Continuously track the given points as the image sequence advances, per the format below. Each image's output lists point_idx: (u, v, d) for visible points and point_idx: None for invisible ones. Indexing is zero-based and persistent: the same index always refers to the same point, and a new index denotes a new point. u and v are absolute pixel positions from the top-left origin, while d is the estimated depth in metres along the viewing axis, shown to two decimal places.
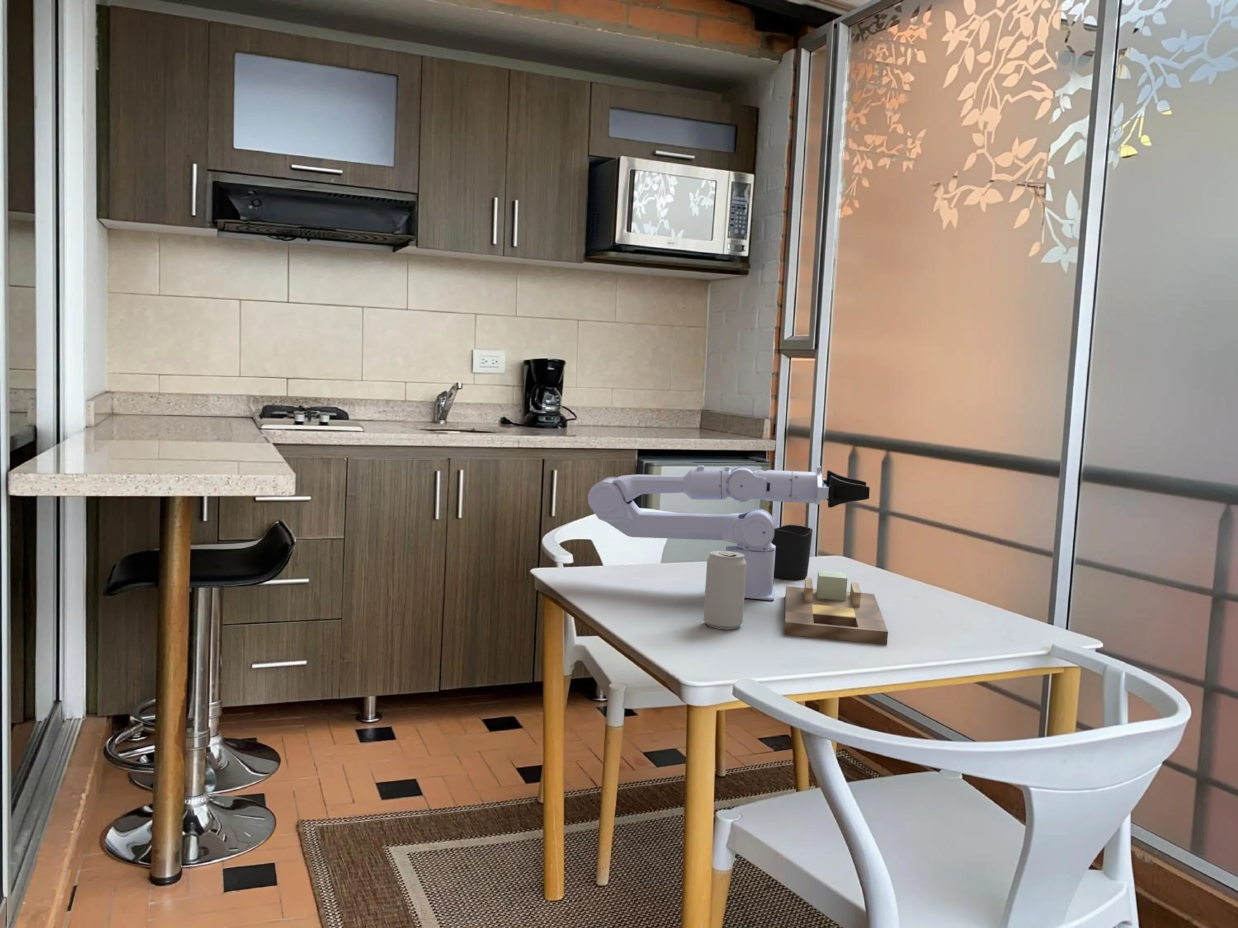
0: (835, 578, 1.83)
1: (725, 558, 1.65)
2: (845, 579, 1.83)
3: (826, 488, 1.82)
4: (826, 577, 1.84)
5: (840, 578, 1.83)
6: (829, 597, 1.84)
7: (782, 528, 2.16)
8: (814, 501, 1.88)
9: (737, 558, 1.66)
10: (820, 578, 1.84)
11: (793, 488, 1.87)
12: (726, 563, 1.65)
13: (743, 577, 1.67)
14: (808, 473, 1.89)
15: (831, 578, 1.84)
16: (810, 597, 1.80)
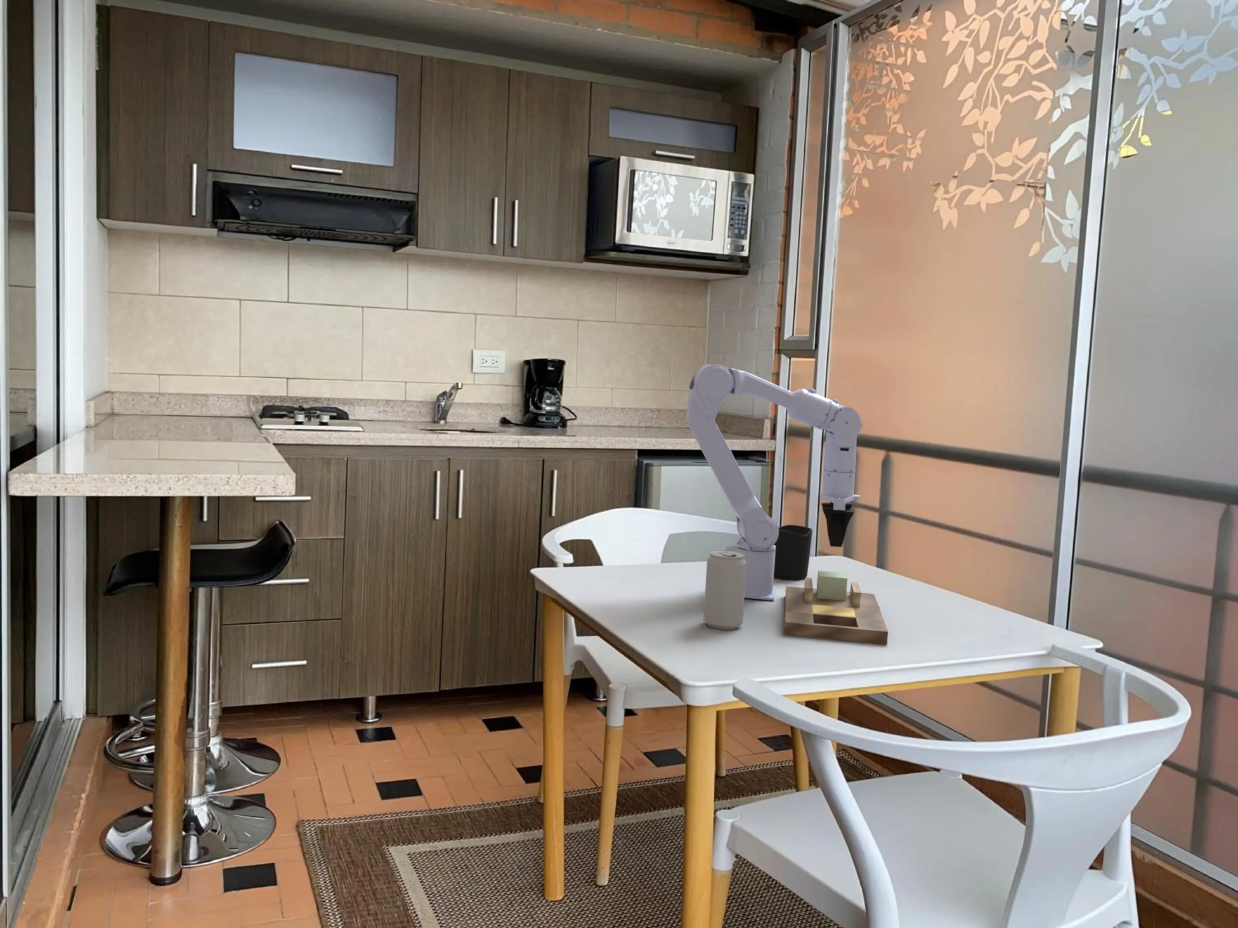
0: (835, 578, 1.83)
1: (725, 558, 1.65)
2: (845, 579, 1.83)
3: (844, 508, 1.85)
4: (826, 577, 1.84)
5: (840, 578, 1.83)
6: (829, 597, 1.84)
7: (782, 528, 2.16)
8: (826, 493, 1.91)
9: (737, 558, 1.66)
10: (820, 578, 1.84)
11: (840, 474, 1.89)
12: (726, 563, 1.65)
13: (743, 577, 1.67)
14: (853, 487, 1.90)
15: (831, 578, 1.84)
16: (810, 597, 1.80)
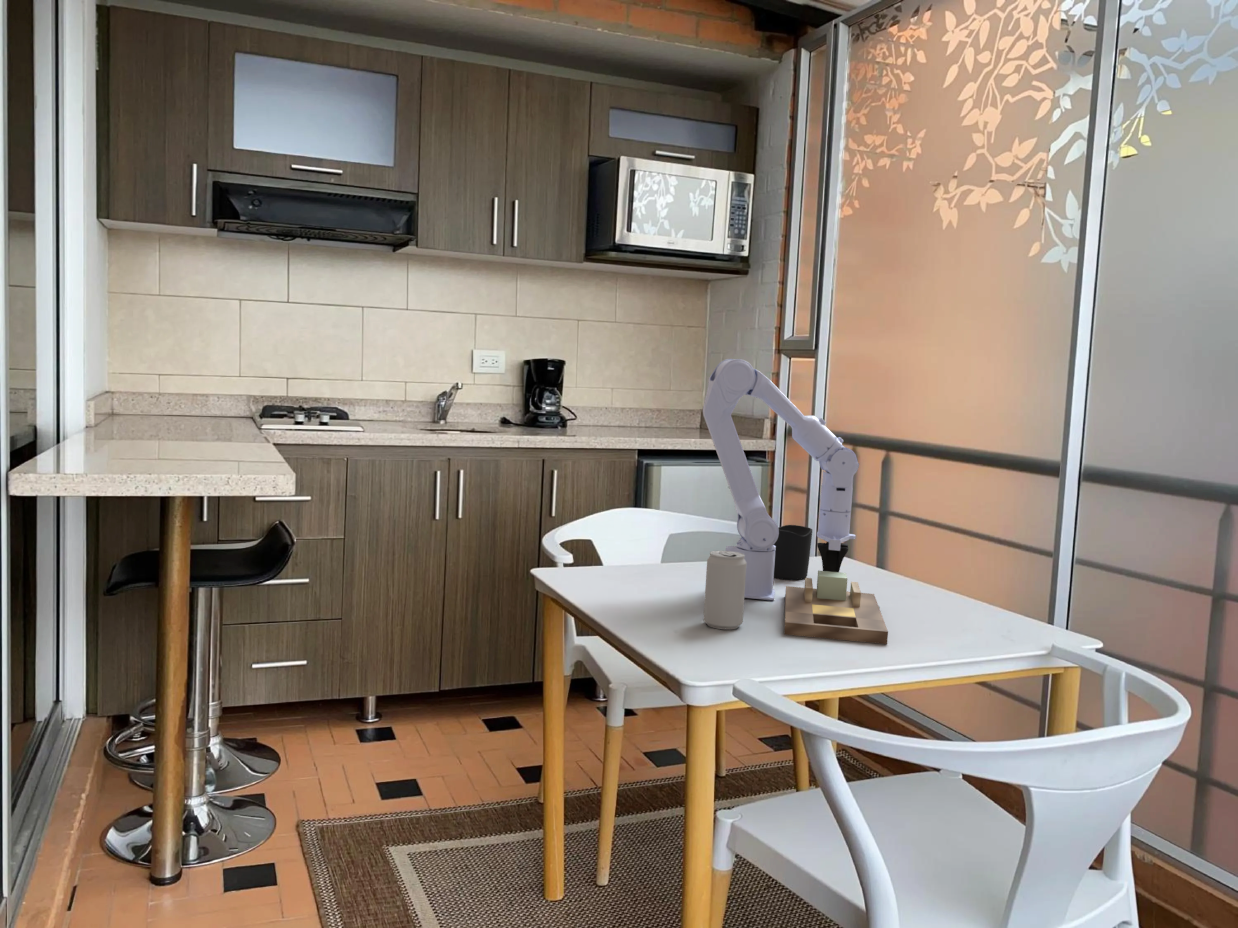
0: (835, 578, 1.83)
1: (725, 558, 1.65)
2: (845, 579, 1.83)
3: (839, 548, 1.86)
4: (826, 577, 1.84)
5: (840, 578, 1.83)
6: (829, 597, 1.84)
7: (782, 528, 2.16)
8: (821, 532, 1.91)
9: (737, 558, 1.66)
10: (820, 578, 1.84)
11: (835, 513, 1.89)
12: (726, 563, 1.65)
13: (743, 577, 1.67)
14: (849, 527, 1.91)
15: (831, 578, 1.84)
16: (810, 597, 1.80)
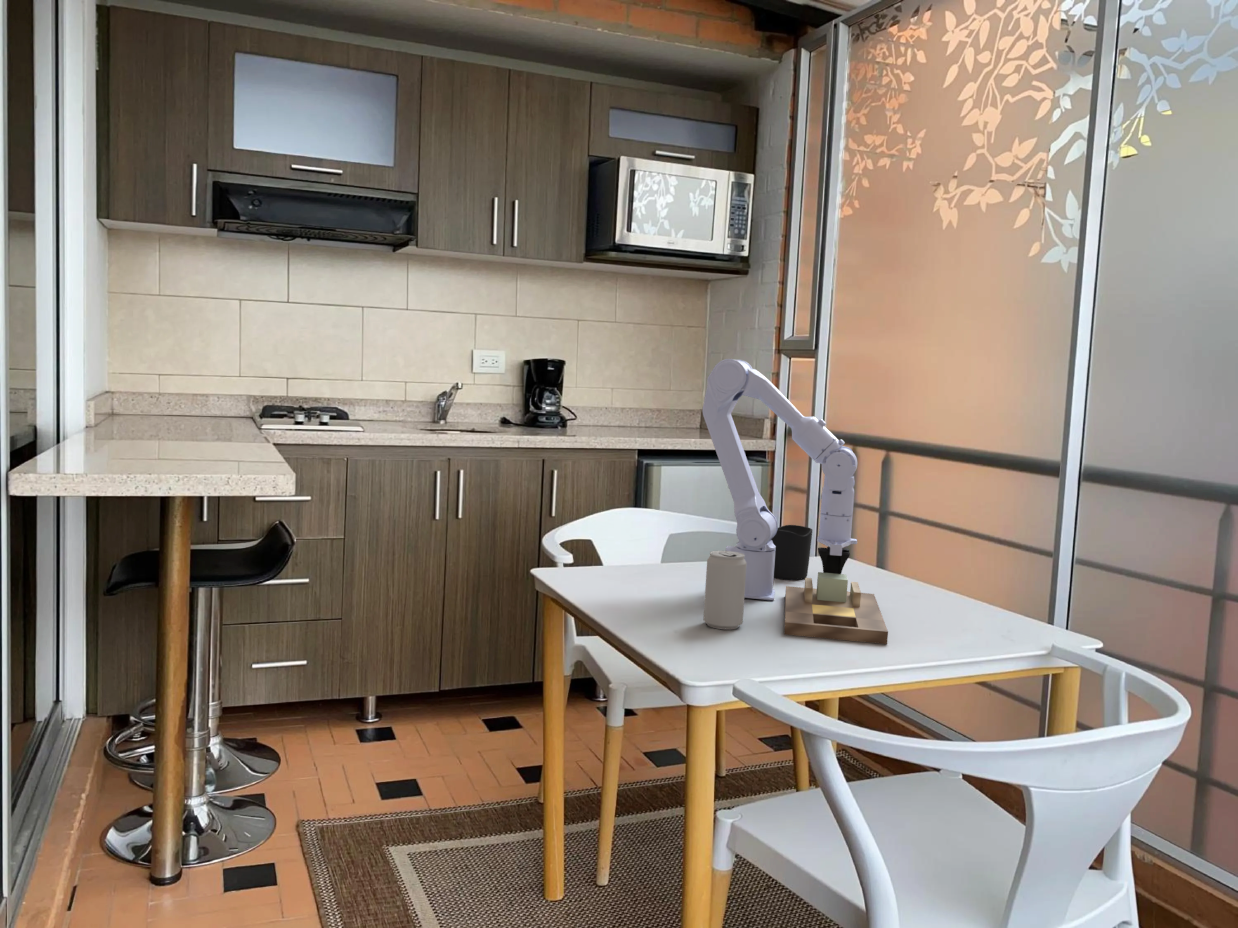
0: (835, 580, 1.82)
1: (725, 558, 1.65)
2: (845, 581, 1.82)
3: (840, 553, 1.81)
4: (826, 579, 1.82)
5: (840, 580, 1.82)
6: (829, 599, 1.82)
7: (782, 528, 2.16)
8: (822, 537, 1.86)
9: (737, 558, 1.66)
10: (820, 580, 1.82)
11: (837, 517, 1.85)
12: (726, 563, 1.65)
13: (743, 577, 1.67)
14: (850, 531, 1.86)
15: (831, 580, 1.82)
16: (810, 597, 1.80)
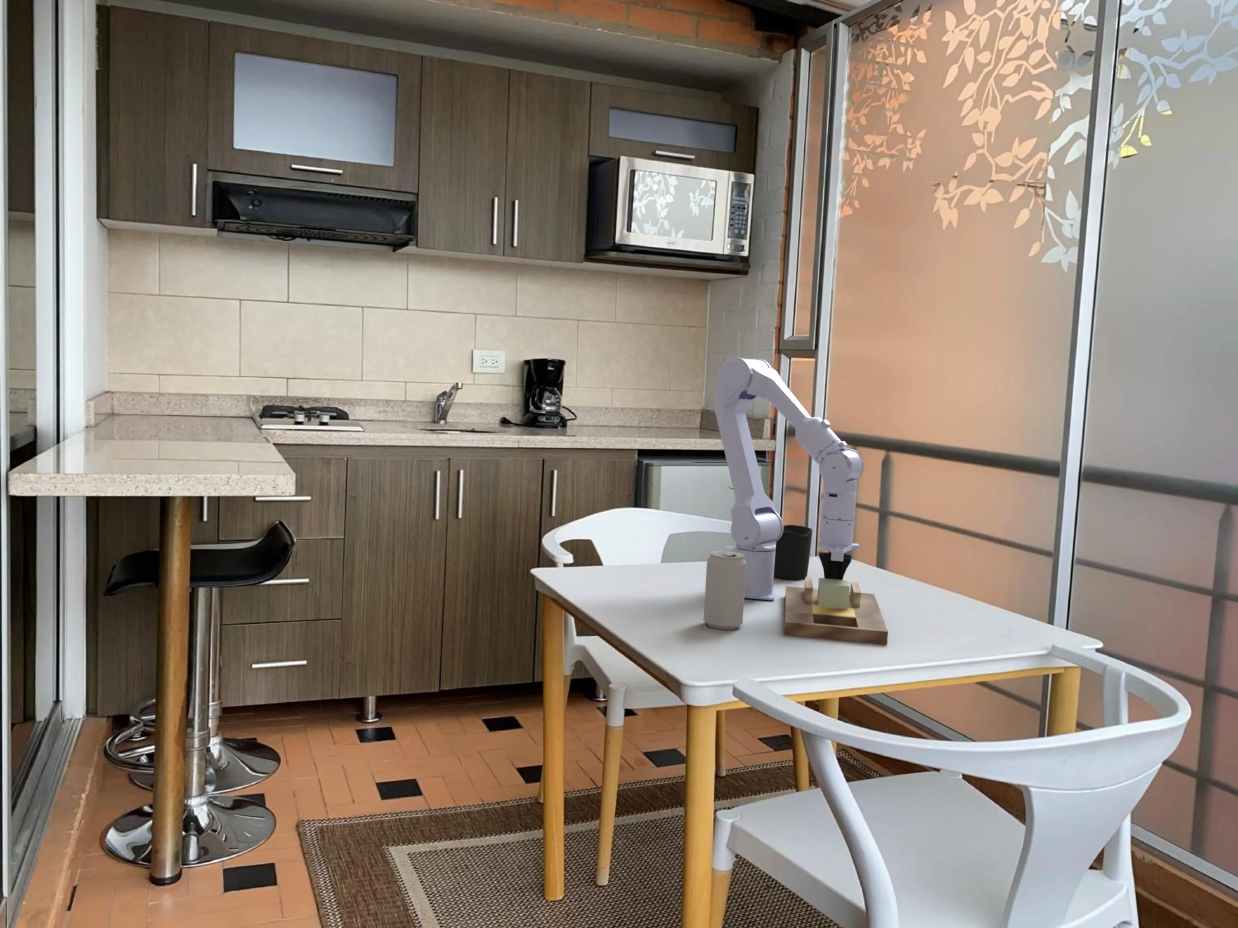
0: (837, 586, 1.77)
1: (725, 558, 1.65)
2: (847, 587, 1.77)
3: (842, 559, 1.76)
4: (827, 585, 1.77)
5: (842, 586, 1.77)
6: (831, 606, 1.77)
7: None
8: (823, 542, 1.81)
9: (737, 558, 1.66)
10: (821, 586, 1.77)
11: (838, 522, 1.79)
12: (726, 563, 1.65)
13: (743, 577, 1.67)
14: (852, 536, 1.81)
15: (833, 586, 1.77)
16: (810, 597, 1.80)
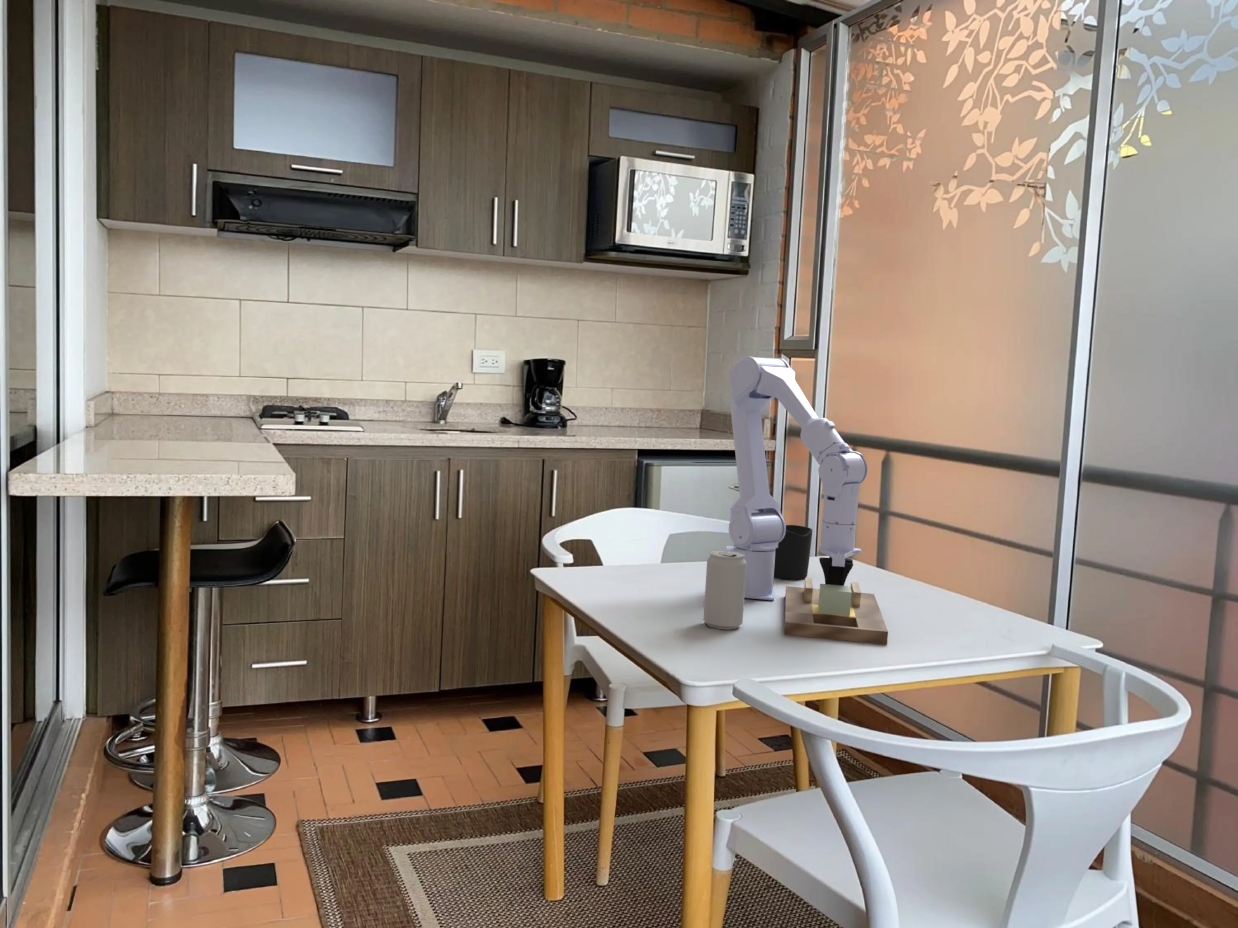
0: (838, 592, 1.72)
1: (725, 558, 1.65)
2: (849, 593, 1.72)
3: (843, 564, 1.71)
4: (829, 591, 1.72)
5: (844, 592, 1.72)
6: (832, 612, 1.72)
7: None
8: (824, 546, 1.76)
9: (737, 558, 1.66)
10: (822, 592, 1.72)
11: (839, 526, 1.75)
12: (726, 563, 1.65)
13: (743, 577, 1.67)
14: (854, 541, 1.76)
15: (834, 592, 1.72)
16: (810, 597, 1.80)
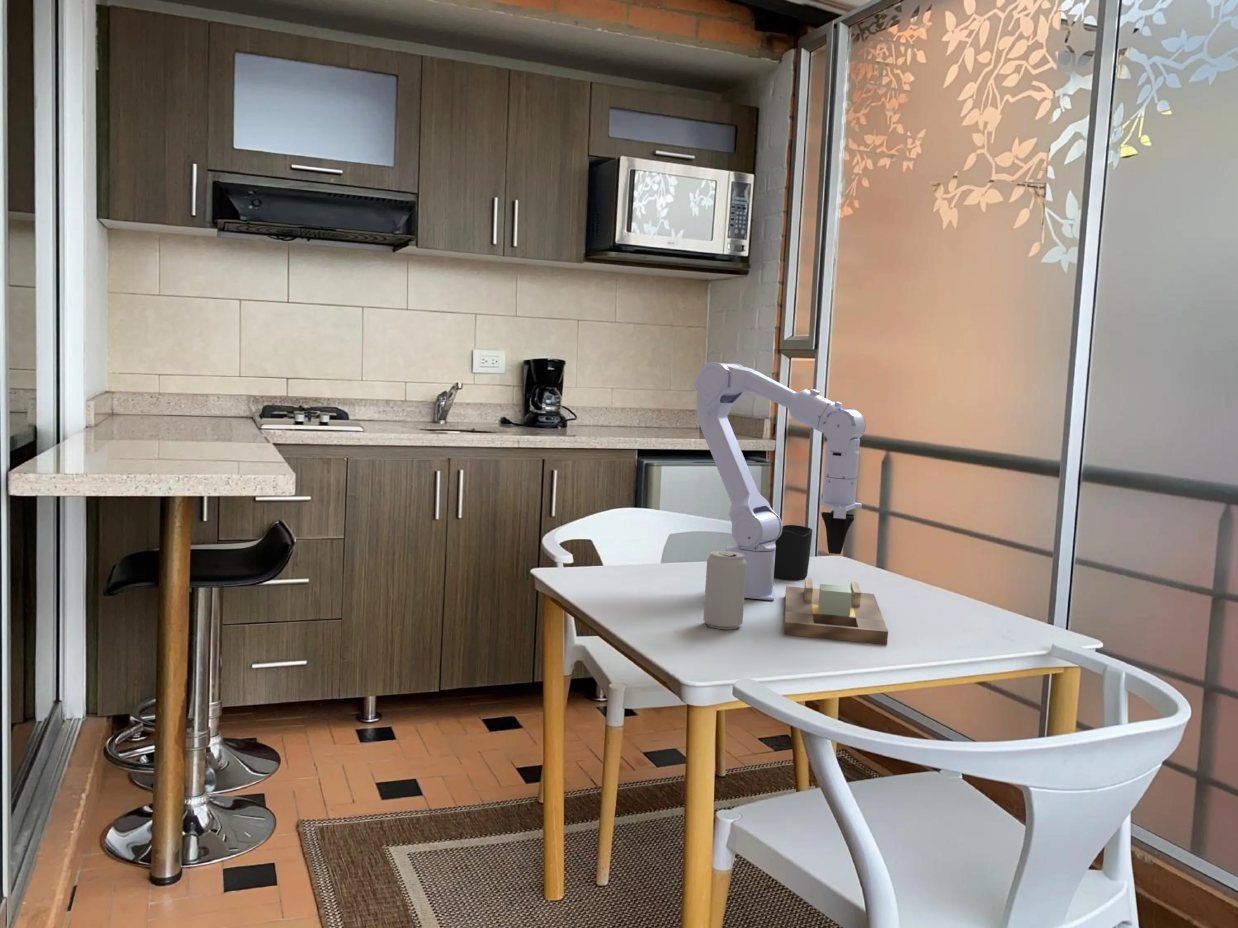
0: (838, 592, 1.72)
1: (725, 558, 1.65)
2: (849, 593, 1.71)
3: (844, 516, 1.76)
4: (829, 591, 1.72)
5: (844, 592, 1.72)
6: (832, 613, 1.72)
7: (782, 528, 2.16)
8: (826, 500, 1.82)
9: (737, 558, 1.66)
10: (822, 592, 1.72)
11: (841, 480, 1.80)
12: (726, 563, 1.65)
13: (743, 577, 1.67)
14: (854, 495, 1.82)
15: (834, 592, 1.72)
16: (810, 597, 1.80)
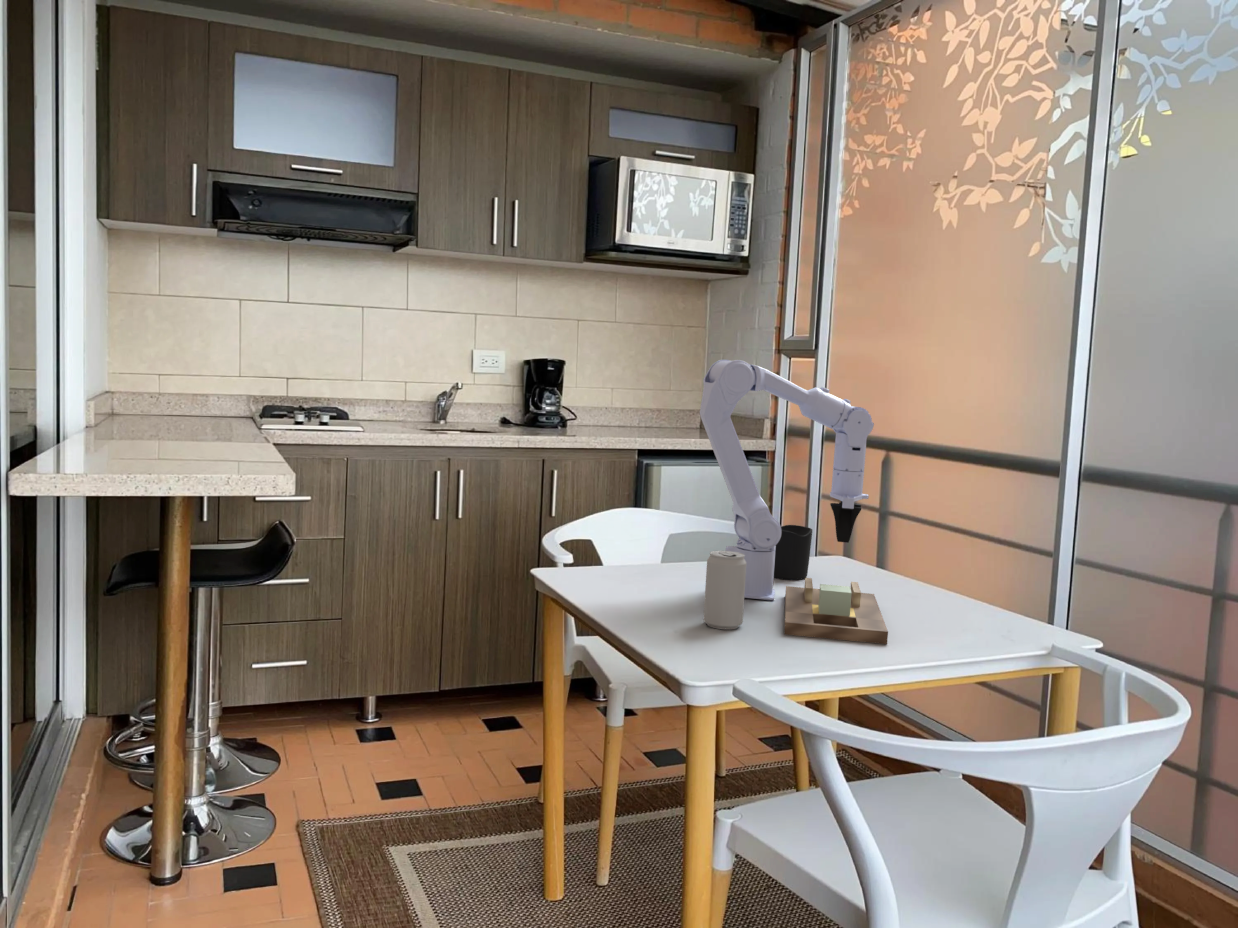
0: (838, 592, 1.72)
1: (725, 558, 1.65)
2: (849, 593, 1.71)
3: (852, 506, 1.88)
4: (829, 591, 1.72)
5: (844, 592, 1.72)
6: (832, 613, 1.72)
7: (782, 528, 2.16)
8: (835, 492, 1.93)
9: (737, 558, 1.66)
10: (822, 592, 1.72)
11: (849, 473, 1.91)
12: (726, 563, 1.65)
13: (743, 577, 1.67)
14: (862, 486, 1.93)
15: (834, 592, 1.72)
16: (810, 597, 1.80)
